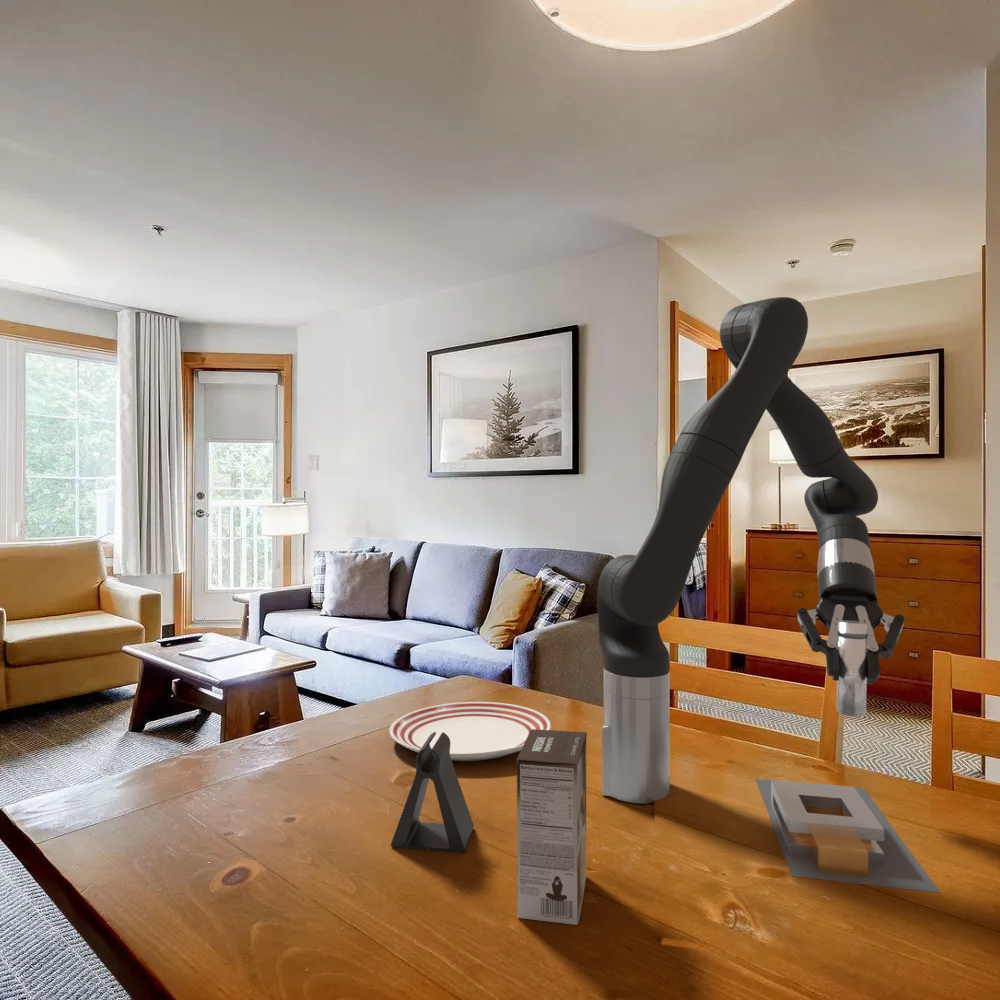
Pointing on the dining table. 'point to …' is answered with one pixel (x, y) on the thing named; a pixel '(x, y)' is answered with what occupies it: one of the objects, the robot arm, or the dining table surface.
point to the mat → (894, 872)
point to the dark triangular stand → (450, 801)
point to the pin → (852, 667)
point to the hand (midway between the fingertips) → (853, 678)
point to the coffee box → (551, 826)
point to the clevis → (827, 826)
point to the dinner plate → (470, 728)
